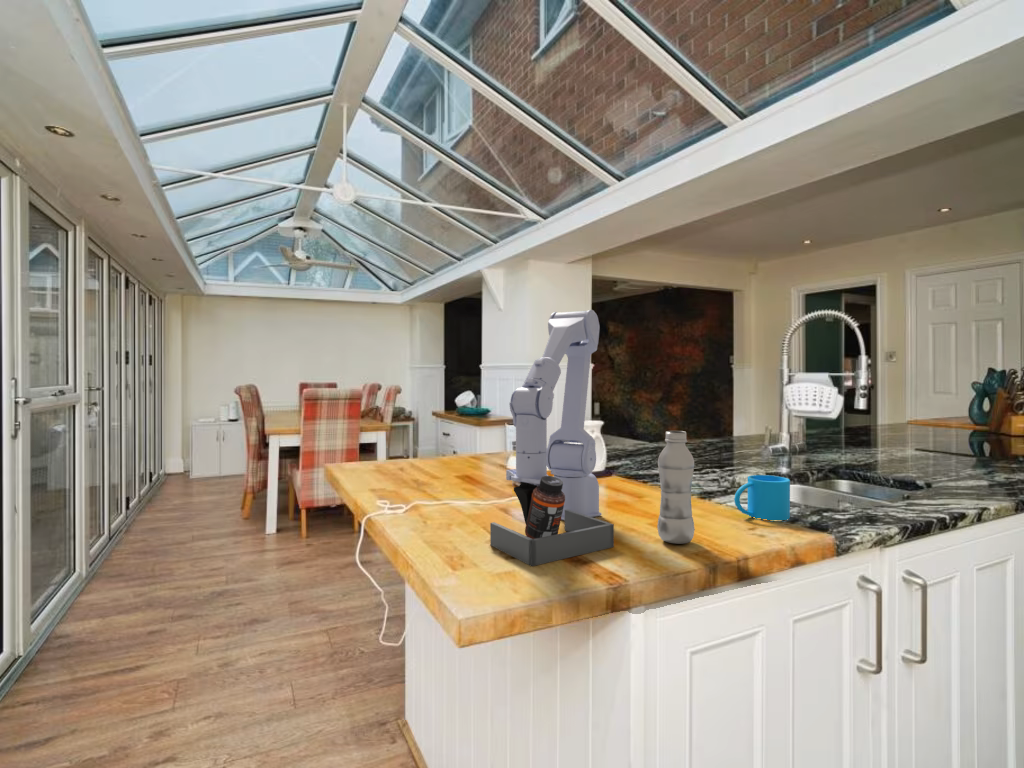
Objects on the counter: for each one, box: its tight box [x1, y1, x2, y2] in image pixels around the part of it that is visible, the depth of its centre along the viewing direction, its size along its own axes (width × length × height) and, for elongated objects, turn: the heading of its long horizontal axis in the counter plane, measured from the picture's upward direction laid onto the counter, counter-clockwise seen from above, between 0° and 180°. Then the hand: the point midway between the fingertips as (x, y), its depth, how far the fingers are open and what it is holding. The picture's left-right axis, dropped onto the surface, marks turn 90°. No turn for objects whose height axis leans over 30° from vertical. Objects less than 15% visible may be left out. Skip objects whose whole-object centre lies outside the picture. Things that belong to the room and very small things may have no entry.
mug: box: [733, 474, 791, 521], centre depth 116 cm, size 12×8×8 cm
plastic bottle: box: [657, 430, 695, 545], centre depth 98 cm, size 6×7×20 cm
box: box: [489, 509, 615, 567], centre depth 96 cm, size 18×13×4 cm
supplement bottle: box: [524, 475, 565, 539], centre depth 98 cm, size 6×6×11 cm
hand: (531, 524), depth 101 cm, fingers closed
